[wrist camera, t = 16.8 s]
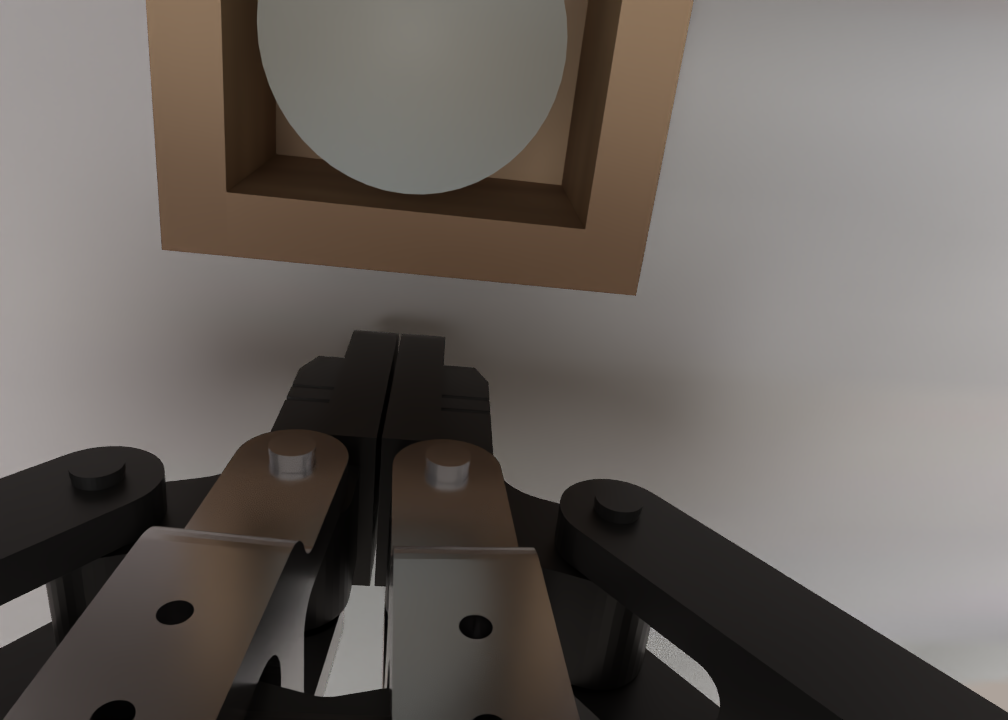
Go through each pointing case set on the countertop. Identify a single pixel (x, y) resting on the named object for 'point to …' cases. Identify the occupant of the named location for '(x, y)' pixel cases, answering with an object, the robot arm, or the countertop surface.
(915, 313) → the countertop surface
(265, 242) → the tray
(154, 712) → the robot arm
